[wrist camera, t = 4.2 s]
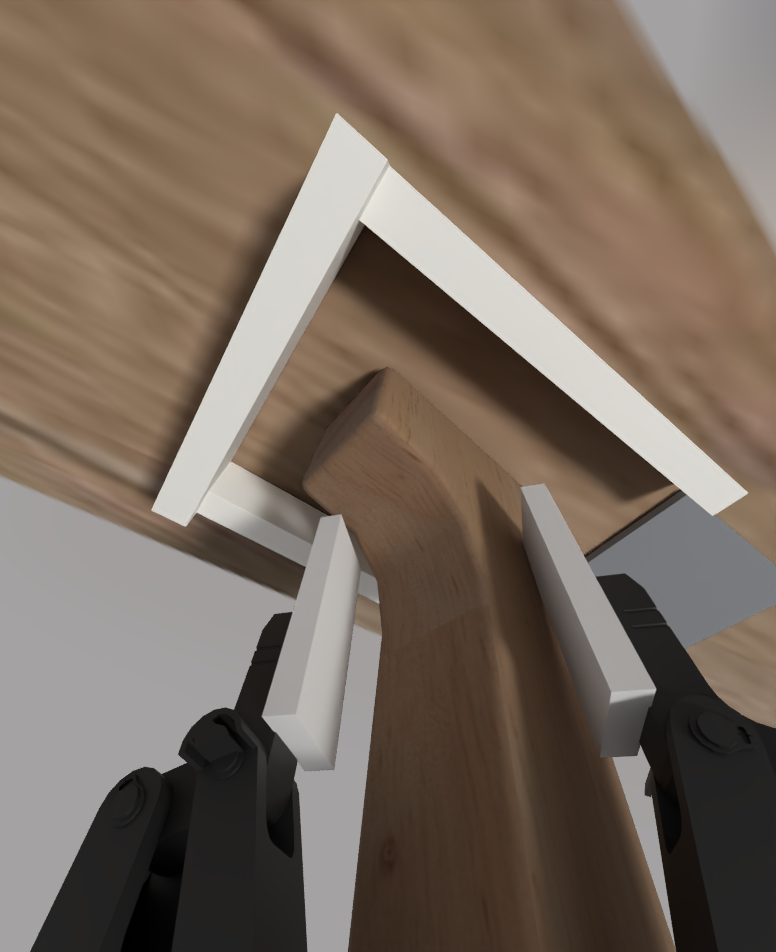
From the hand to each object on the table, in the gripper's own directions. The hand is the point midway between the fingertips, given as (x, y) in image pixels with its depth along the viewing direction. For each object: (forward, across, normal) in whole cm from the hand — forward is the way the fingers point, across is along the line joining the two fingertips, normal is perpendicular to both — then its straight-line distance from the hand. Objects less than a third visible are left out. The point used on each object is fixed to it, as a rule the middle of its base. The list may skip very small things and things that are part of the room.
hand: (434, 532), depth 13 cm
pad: (+5, -11, +12) cm, 17 cm away
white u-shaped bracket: (+5, -1, +1) cm, 6 cm away
